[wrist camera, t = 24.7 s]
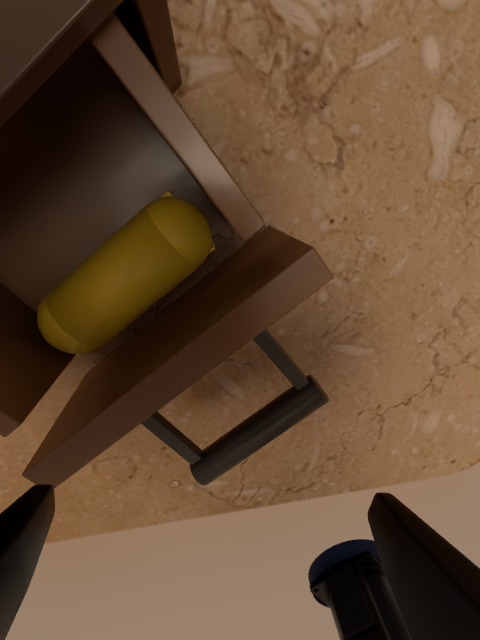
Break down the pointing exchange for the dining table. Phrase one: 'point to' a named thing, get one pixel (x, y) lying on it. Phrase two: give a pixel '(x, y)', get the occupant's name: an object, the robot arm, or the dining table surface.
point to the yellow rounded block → (126, 275)
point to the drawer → (104, 221)
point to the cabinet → (73, 40)
